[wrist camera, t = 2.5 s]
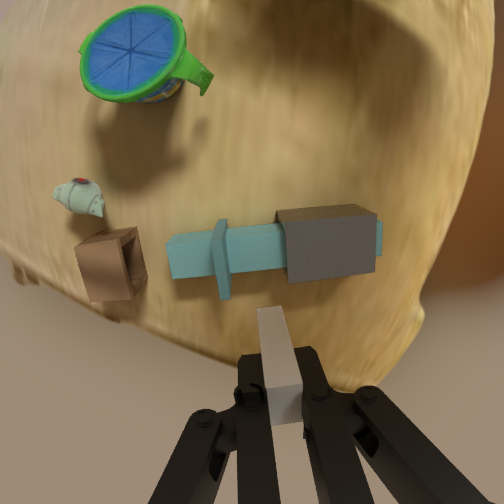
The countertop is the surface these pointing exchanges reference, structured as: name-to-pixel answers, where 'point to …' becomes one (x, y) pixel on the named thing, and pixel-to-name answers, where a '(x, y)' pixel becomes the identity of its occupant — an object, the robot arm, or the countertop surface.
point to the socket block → (112, 265)
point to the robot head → (80, 197)
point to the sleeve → (328, 242)
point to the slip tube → (232, 252)
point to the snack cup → (140, 57)
